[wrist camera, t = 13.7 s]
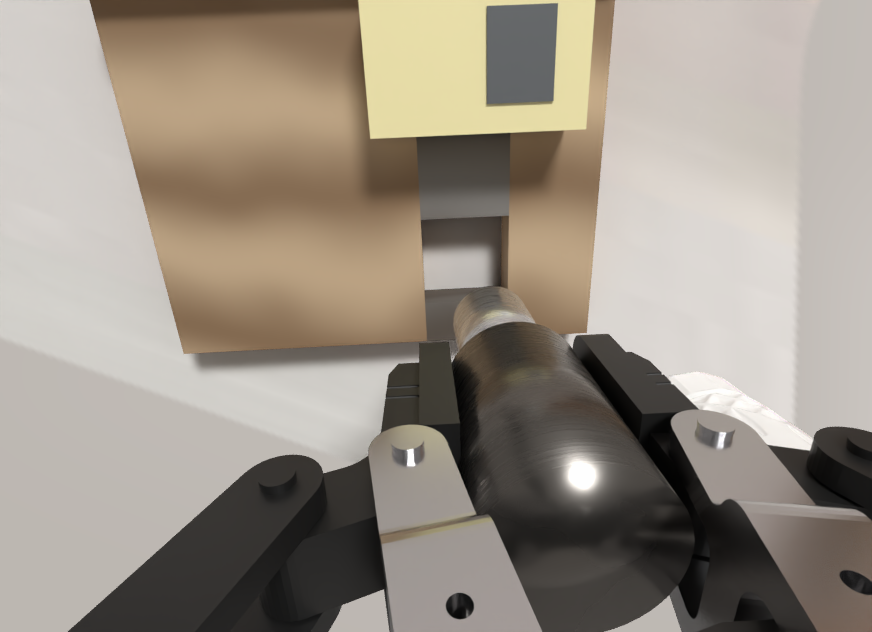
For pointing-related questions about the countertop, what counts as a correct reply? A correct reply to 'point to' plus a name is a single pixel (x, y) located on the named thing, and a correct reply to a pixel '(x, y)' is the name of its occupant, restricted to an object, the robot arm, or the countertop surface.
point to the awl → (561, 473)
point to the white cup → (740, 408)
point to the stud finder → (476, 66)
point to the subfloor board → (328, 180)
